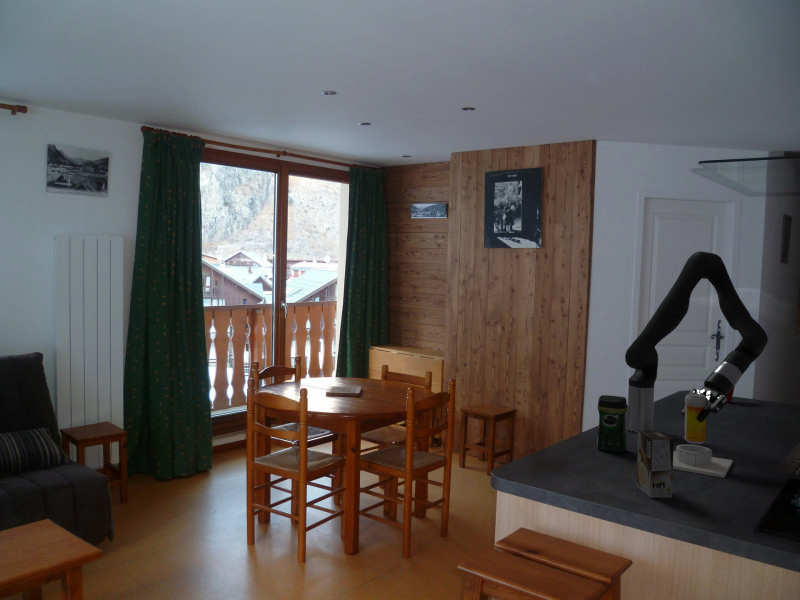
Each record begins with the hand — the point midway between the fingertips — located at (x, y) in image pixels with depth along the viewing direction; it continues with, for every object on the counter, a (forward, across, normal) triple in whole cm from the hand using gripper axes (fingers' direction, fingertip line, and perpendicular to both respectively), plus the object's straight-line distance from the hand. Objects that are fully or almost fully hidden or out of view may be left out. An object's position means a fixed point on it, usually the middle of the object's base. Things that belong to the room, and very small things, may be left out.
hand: (690, 417), depth 201 cm
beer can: (+4, 0, +7) cm, 8 cm away
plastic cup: (-51, -82, +73) cm, 121 cm away
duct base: (+10, 0, +12) cm, 15 cm away
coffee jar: (+21, -21, 0) cm, 29 cm away
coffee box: (+30, +19, -9) cm, 37 cm away
